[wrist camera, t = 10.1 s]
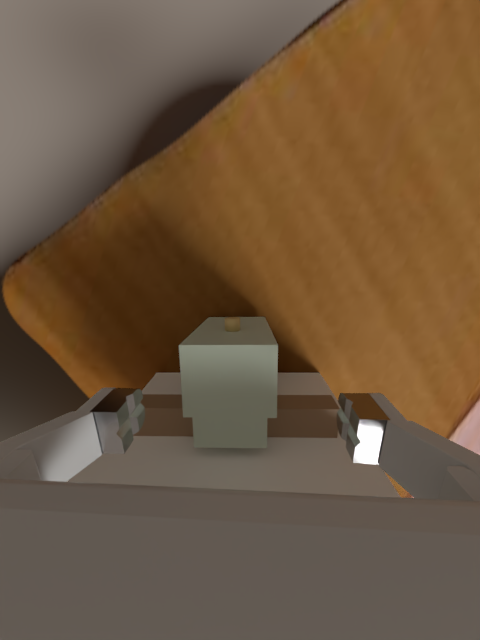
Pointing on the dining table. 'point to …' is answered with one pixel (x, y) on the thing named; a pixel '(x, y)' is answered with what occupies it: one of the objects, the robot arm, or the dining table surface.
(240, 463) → the wall board
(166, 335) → the dining table surface
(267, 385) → the pale green box
